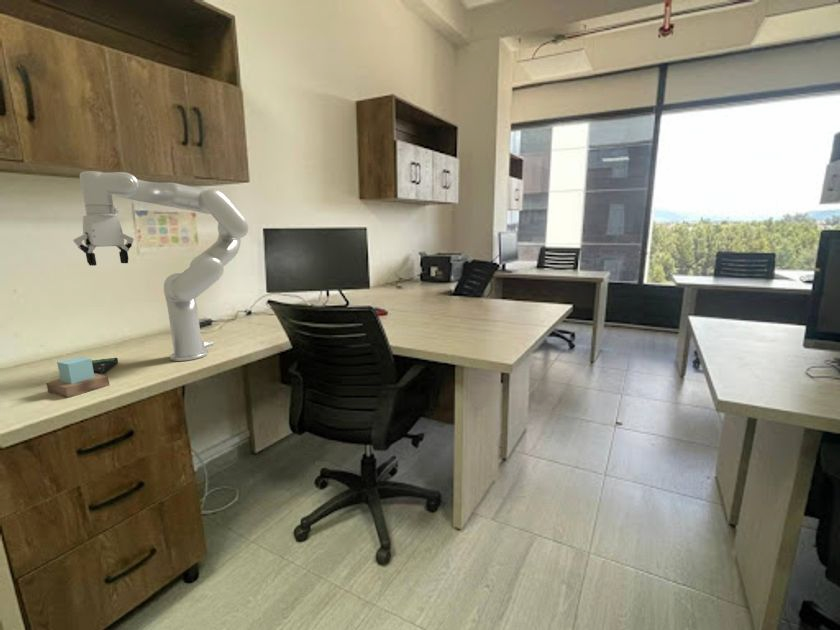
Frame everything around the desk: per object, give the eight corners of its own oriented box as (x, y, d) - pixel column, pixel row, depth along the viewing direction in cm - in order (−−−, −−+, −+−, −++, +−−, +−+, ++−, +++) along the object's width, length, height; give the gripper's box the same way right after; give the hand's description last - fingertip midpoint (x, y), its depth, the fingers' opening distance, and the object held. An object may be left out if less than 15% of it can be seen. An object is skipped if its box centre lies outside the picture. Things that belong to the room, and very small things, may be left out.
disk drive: (103, 377, 138) (119, 364, 152) (101, 369, 138) (117, 356, 151) (65, 381, 135) (85, 367, 149) (64, 373, 134) (83, 360, 148)
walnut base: (90, 380, 133) (88, 371, 133) (109, 385, 129) (108, 376, 128) (48, 392, 124) (46, 382, 123) (67, 398, 119) (65, 388, 118)
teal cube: (83, 374, 130) (80, 356, 128) (94, 377, 127) (91, 358, 126) (60, 381, 124) (57, 362, 123) (71, 383, 122) (67, 364, 121)
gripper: (122, 212, 144) (129, 262, 148) (62, 211, 129) (72, 266, 133) (134, 212, 141) (142, 262, 144) (75, 210, 126) (85, 266, 129)
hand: (109, 264), depth 138 cm, fingers open, 9 cm apart
